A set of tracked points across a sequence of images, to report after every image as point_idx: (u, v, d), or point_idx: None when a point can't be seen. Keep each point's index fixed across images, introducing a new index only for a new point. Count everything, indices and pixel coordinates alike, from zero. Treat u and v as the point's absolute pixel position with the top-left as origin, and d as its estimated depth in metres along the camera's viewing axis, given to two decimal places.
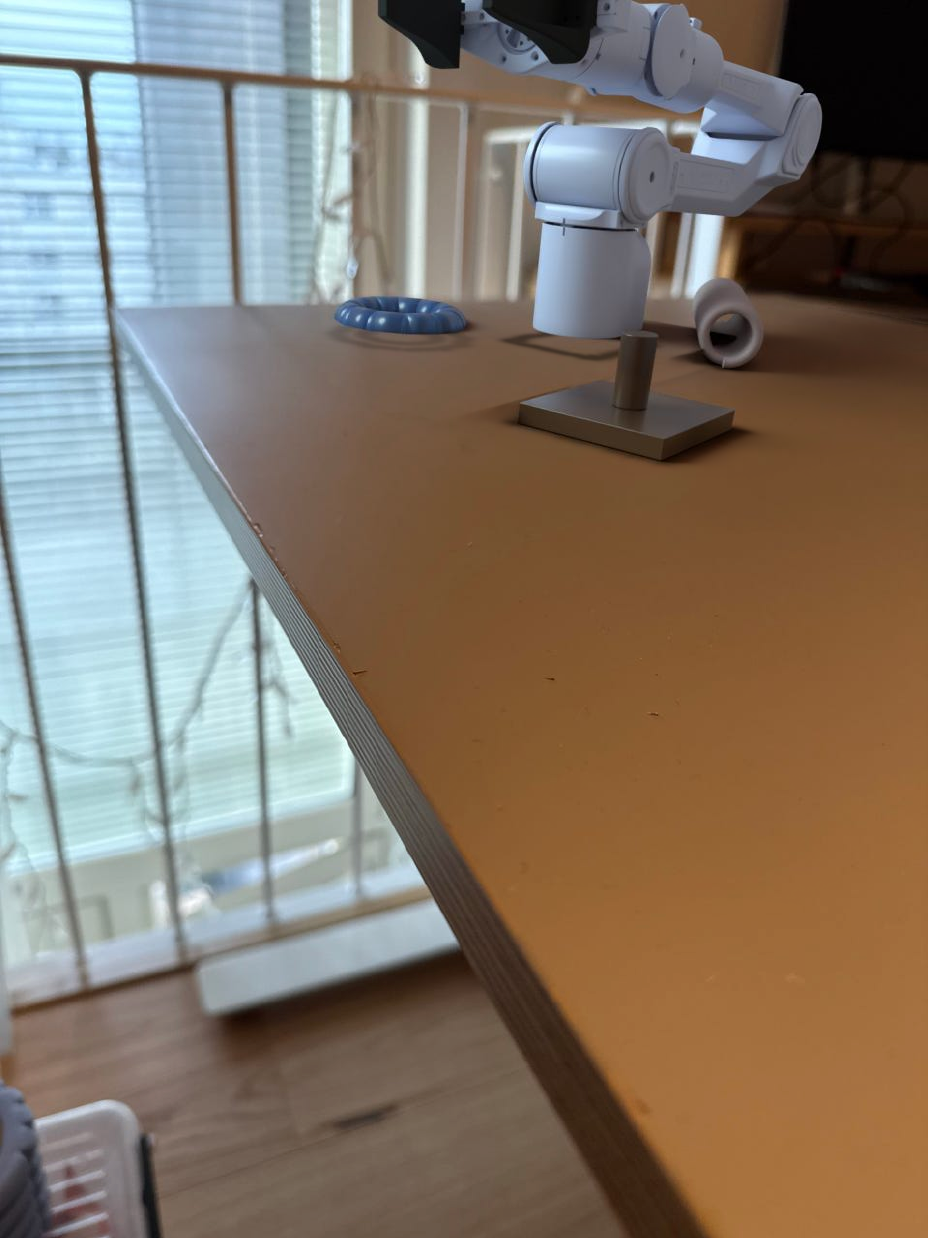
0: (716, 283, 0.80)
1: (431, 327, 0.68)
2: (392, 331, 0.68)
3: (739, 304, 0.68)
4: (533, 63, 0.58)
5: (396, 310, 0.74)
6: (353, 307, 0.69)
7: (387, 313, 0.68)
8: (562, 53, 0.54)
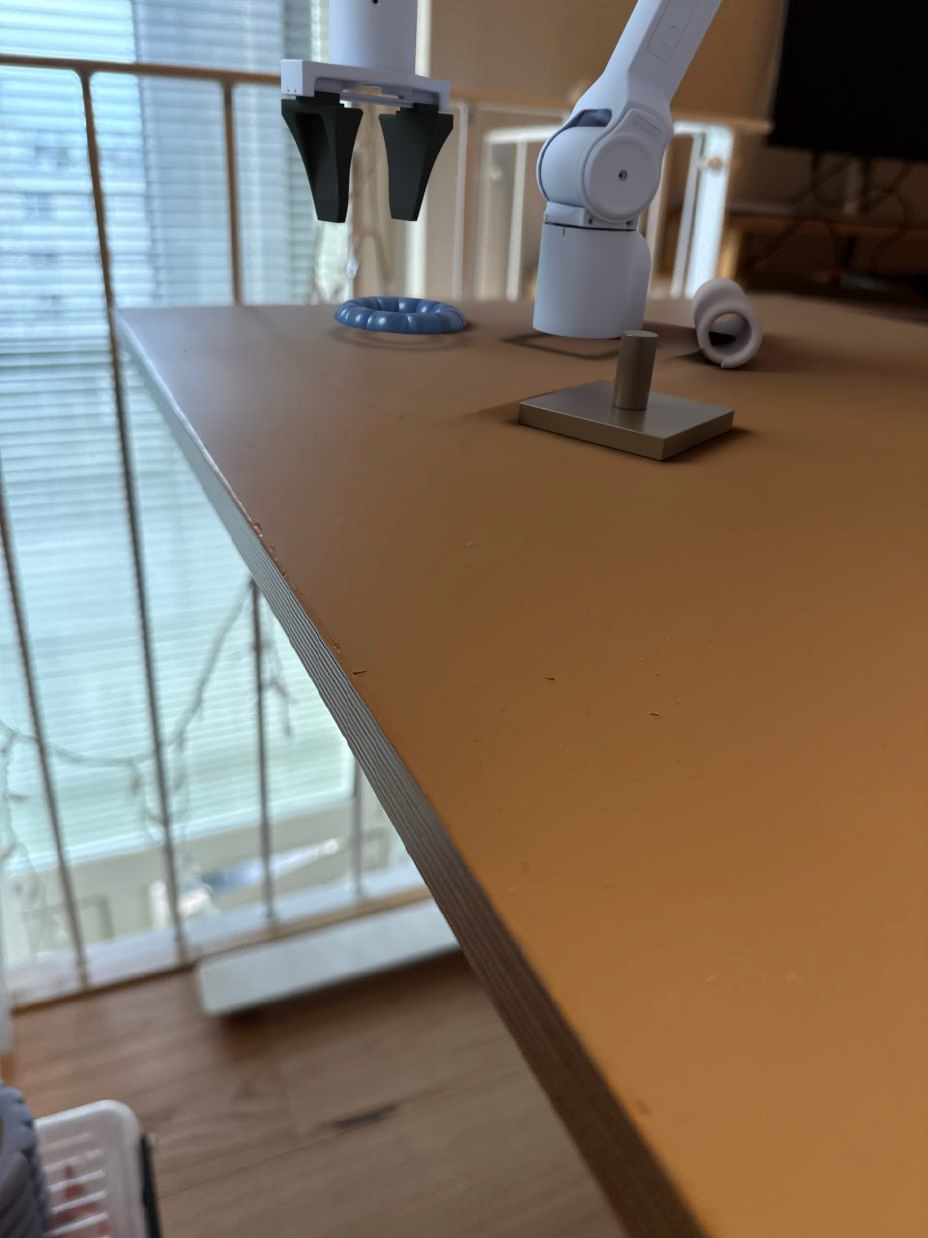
0: (715, 283, 0.80)
1: (431, 327, 0.68)
2: (392, 331, 0.68)
3: (738, 304, 0.68)
4: (388, 84, 0.60)
5: (396, 310, 0.74)
6: (353, 307, 0.69)
7: (387, 313, 0.68)
8: (345, 124, 0.59)
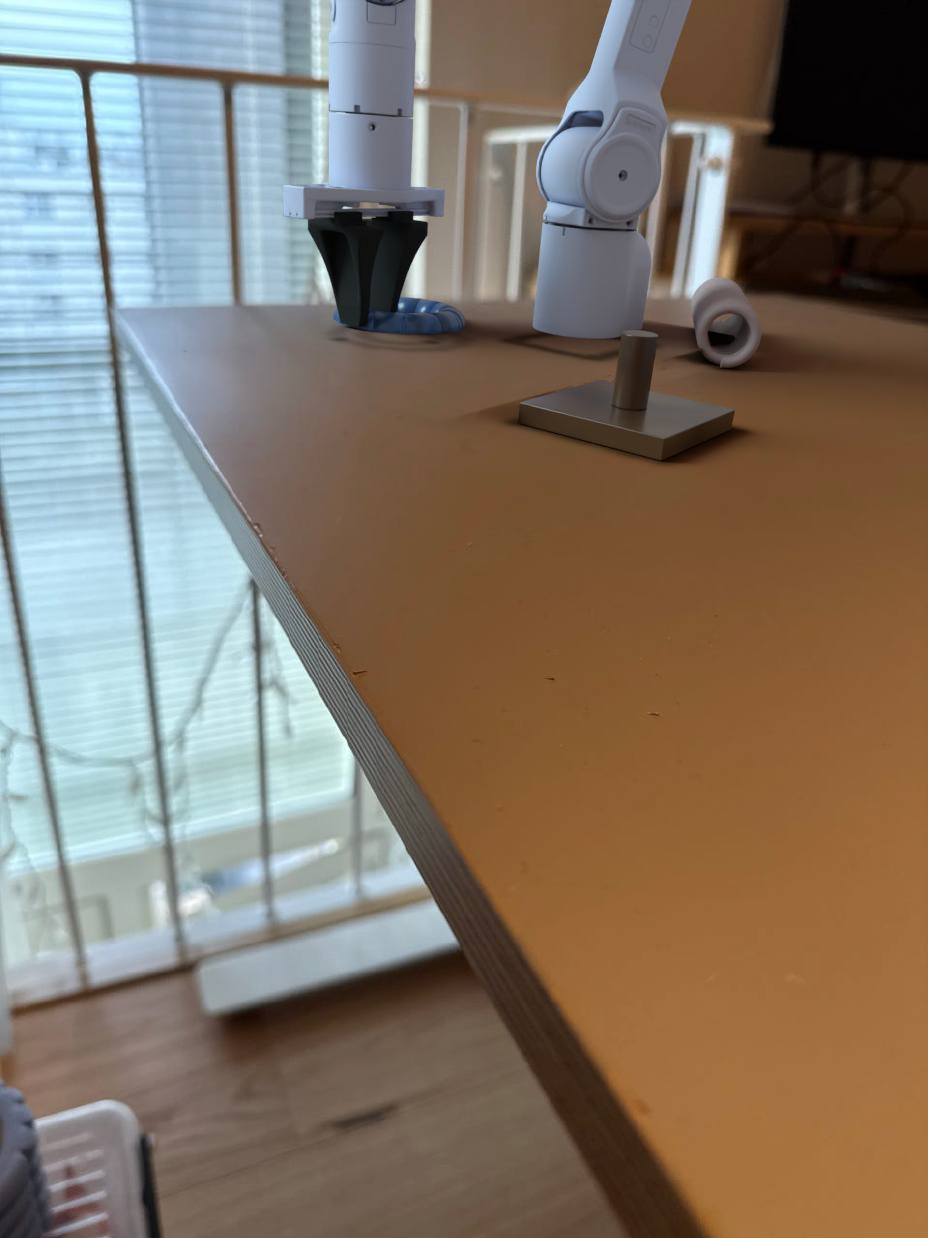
0: (714, 283, 0.80)
1: (430, 327, 0.68)
2: (391, 331, 0.68)
3: (737, 304, 0.68)
4: (385, 202, 0.63)
5: None
6: None
7: (386, 313, 0.68)
8: (368, 242, 0.63)
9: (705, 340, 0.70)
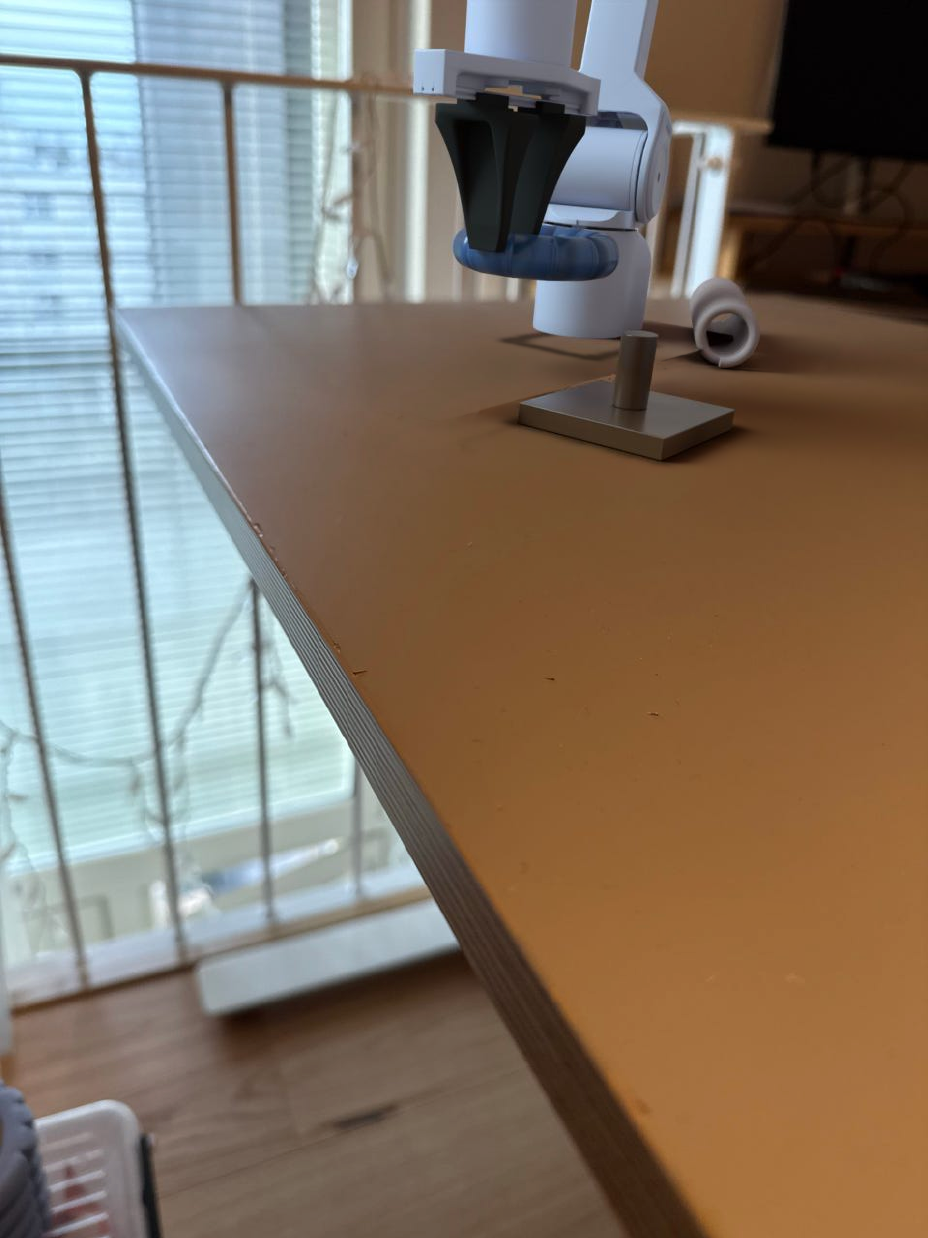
0: (713, 283, 0.80)
1: (585, 254, 0.53)
2: (536, 259, 0.52)
3: (735, 304, 0.68)
4: (542, 81, 0.48)
5: None
6: None
7: (529, 236, 0.52)
8: (519, 134, 0.48)
9: (703, 340, 0.70)
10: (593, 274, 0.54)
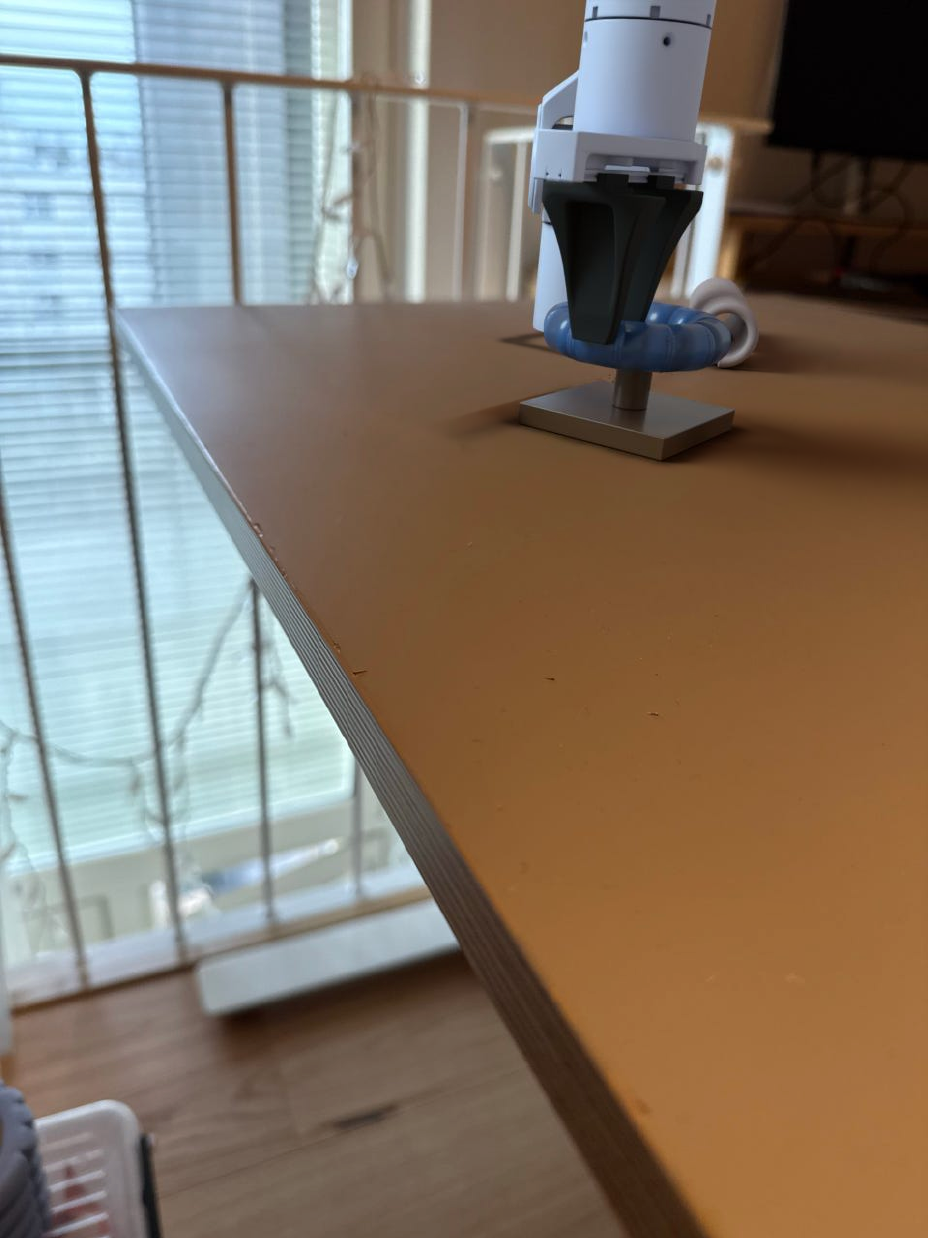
0: (712, 283, 0.80)
1: (703, 344, 0.47)
2: (650, 351, 0.46)
3: (734, 303, 0.68)
4: (670, 159, 0.42)
5: None
6: None
7: (640, 324, 0.47)
8: (644, 219, 0.42)
9: None
10: (707, 364, 0.48)
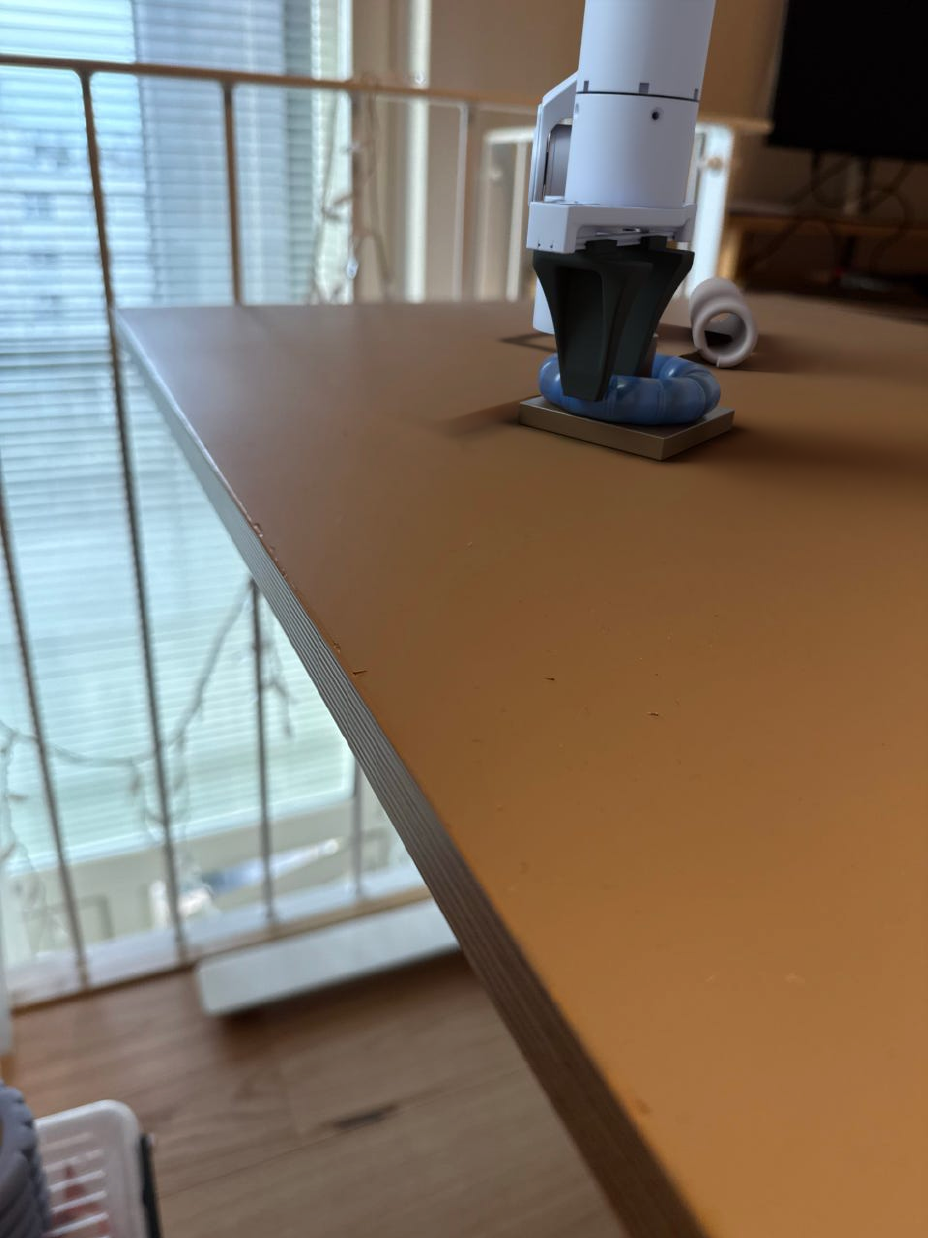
0: (712, 283, 0.80)
1: (693, 398, 0.48)
2: (642, 405, 0.48)
3: (733, 304, 0.68)
4: (659, 226, 0.43)
5: None
6: None
7: (632, 379, 0.48)
8: (632, 285, 0.43)
9: (702, 340, 0.70)
10: (698, 417, 0.49)
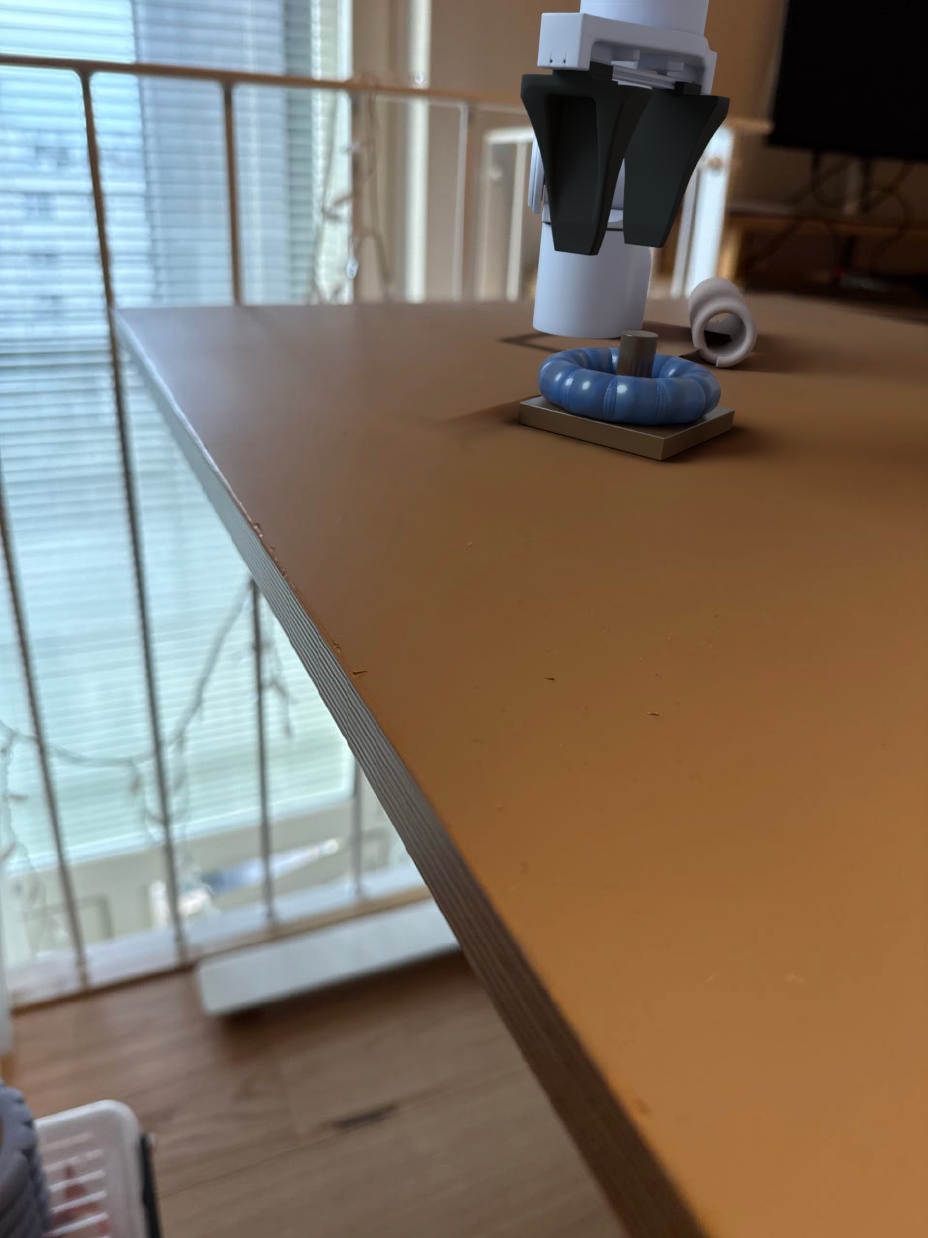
0: (711, 283, 0.80)
1: (693, 398, 0.48)
2: (642, 405, 0.48)
3: (733, 303, 0.68)
4: (678, 53, 0.41)
5: (610, 367, 0.54)
6: (577, 370, 0.49)
7: (632, 379, 0.48)
8: (629, 112, 0.39)
9: (701, 339, 0.70)
10: (698, 417, 0.49)
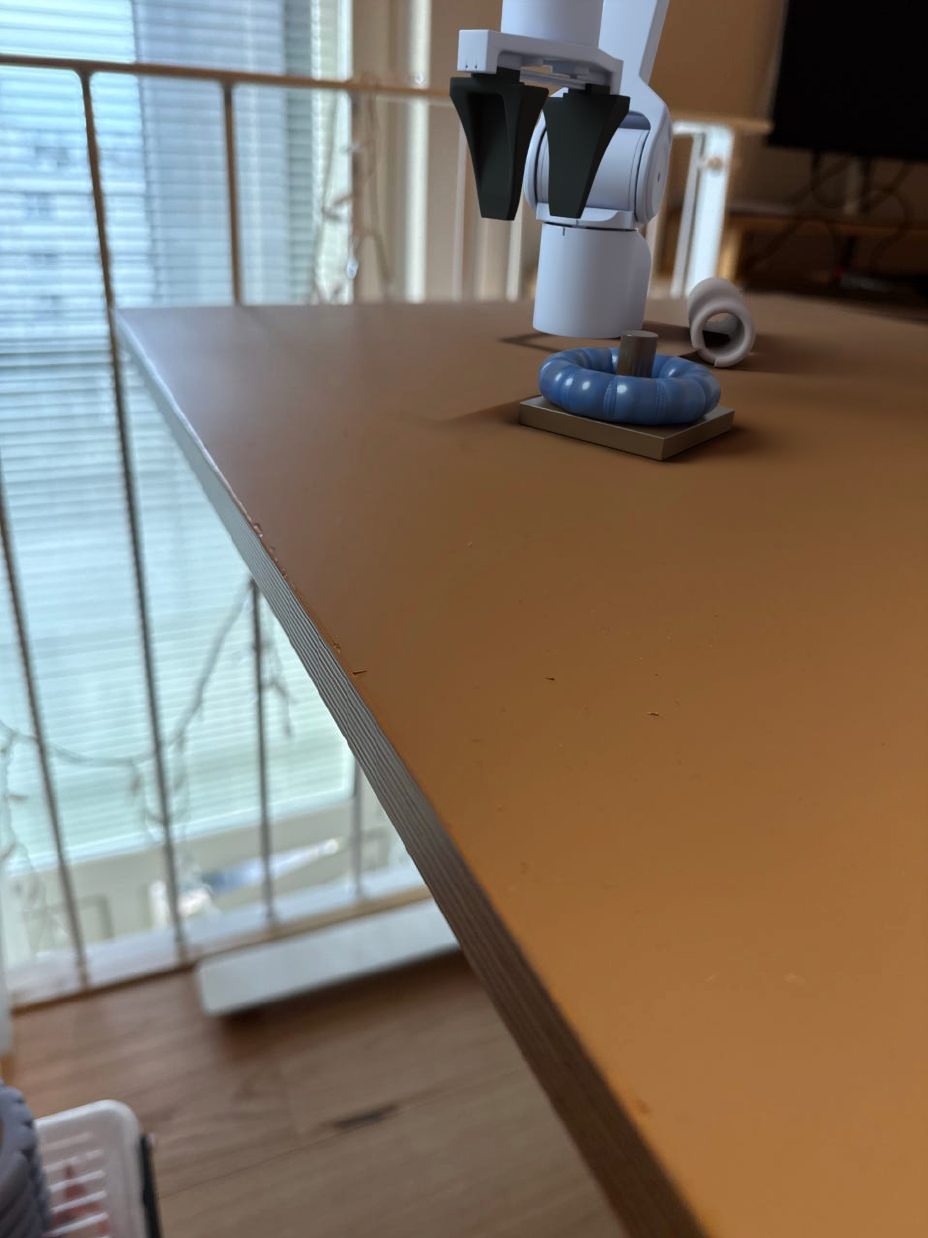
0: (710, 282, 0.80)
1: (693, 398, 0.48)
2: (642, 405, 0.48)
3: (731, 303, 0.68)
4: (573, 60, 0.52)
5: (610, 367, 0.54)
6: (577, 370, 0.49)
7: (632, 379, 0.48)
8: (530, 106, 0.50)
9: (699, 339, 0.70)
10: (698, 417, 0.49)
